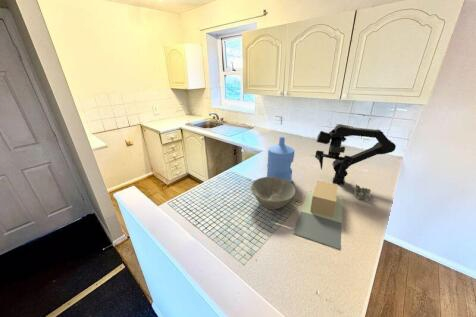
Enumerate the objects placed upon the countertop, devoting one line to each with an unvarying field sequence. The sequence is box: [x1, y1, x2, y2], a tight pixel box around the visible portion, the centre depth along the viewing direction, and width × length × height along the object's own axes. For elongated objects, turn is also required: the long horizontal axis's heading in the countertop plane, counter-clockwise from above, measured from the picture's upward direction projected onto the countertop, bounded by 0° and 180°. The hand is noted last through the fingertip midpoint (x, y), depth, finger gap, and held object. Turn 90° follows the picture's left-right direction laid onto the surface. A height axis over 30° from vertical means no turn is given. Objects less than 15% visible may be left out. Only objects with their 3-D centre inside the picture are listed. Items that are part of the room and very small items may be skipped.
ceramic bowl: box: [250, 176, 296, 210], centre depth 100 cm, size 22×23×10 cm
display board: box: [292, 190, 344, 251], centre depth 93 cm, size 36×18×1 cm, turn 152°
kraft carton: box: [310, 180, 339, 217], centre depth 98 cm, size 16×10×9 cm, turn 152°
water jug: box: [266, 136, 295, 183], centre depth 119 cm, size 16×16×28 cm
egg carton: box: [353, 184, 372, 202], centre depth 107 cm, size 11×8×4 cm
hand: (330, 171), depth 108 cm, fingers open, 9 cm apart
